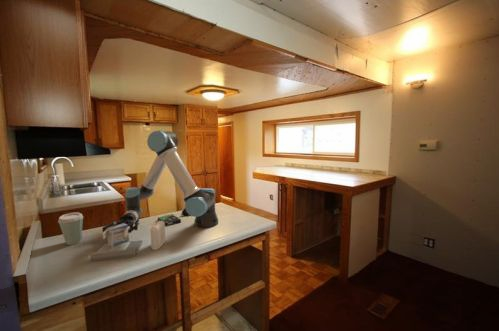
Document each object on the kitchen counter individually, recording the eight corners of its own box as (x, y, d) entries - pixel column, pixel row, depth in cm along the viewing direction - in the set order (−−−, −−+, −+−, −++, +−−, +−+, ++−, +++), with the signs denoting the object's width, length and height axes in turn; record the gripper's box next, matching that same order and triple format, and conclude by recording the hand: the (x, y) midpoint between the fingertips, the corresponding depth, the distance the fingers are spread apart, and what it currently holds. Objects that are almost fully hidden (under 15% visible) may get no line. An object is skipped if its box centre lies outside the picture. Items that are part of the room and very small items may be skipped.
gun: (185, 222, 166) (178, 211, 162) (203, 208, 174) (197, 198, 170) (187, 223, 163) (180, 212, 160) (204, 209, 171) (198, 199, 168)
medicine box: (113, 247, 107) (111, 229, 106) (107, 245, 109) (106, 227, 108) (129, 241, 114) (128, 224, 113) (124, 239, 116) (123, 222, 115)
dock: (142, 242, 120) (142, 236, 120) (134, 256, 105) (134, 249, 105) (104, 246, 116) (104, 240, 116) (91, 261, 101) (90, 254, 101)
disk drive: (181, 223, 150) (171, 217, 160) (181, 219, 149) (171, 213, 160) (165, 227, 143) (157, 221, 154) (165, 223, 142) (156, 217, 153)
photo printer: (158, 241, 122) (157, 218, 120) (166, 241, 122) (165, 218, 120) (150, 250, 111) (148, 225, 110) (158, 250, 111) (157, 225, 110)
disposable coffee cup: (88, 241, 121) (86, 214, 120) (63, 249, 113) (60, 220, 111) (81, 236, 128) (79, 210, 126) (57, 243, 119) (54, 215, 118)
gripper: (149, 223, 131) (139, 240, 109) (108, 226, 126) (89, 244, 104) (148, 211, 130) (138, 225, 108) (107, 213, 125) (88, 229, 103)
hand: (114, 235), depth 106 cm, fingers closed on medicine box, 8 cm apart
